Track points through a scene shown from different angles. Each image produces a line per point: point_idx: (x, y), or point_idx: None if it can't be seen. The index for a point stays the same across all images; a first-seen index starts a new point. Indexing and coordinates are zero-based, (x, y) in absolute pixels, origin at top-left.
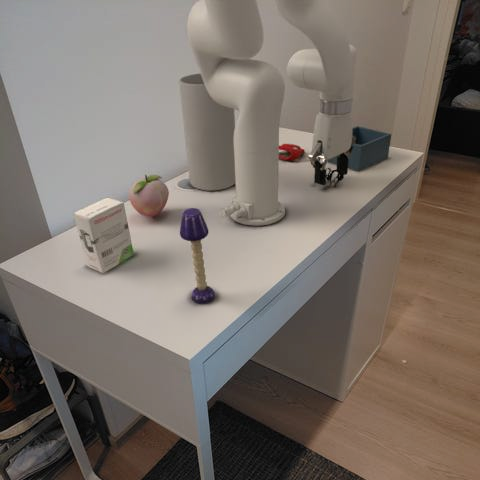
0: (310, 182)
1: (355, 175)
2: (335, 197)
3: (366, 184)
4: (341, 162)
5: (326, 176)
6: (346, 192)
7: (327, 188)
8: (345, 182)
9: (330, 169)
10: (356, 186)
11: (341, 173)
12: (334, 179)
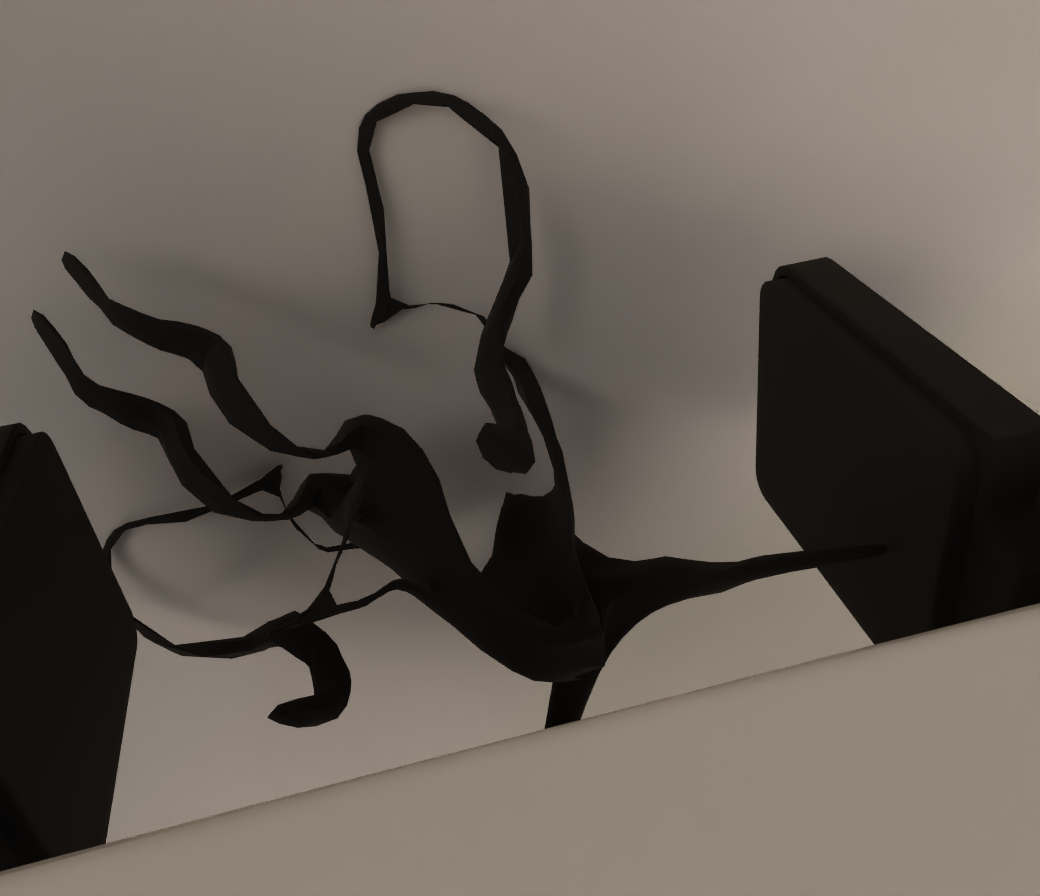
0: (73, 75)
1: (1013, 330)
2: (136, 809)
3: (811, 652)
4: (861, 559)
5: (344, 451)
6: (398, 742)
7: (152, 640)
8: (667, 470)
9: (519, 471)
10: (664, 649)
11: (631, 594)
12: (531, 414)
